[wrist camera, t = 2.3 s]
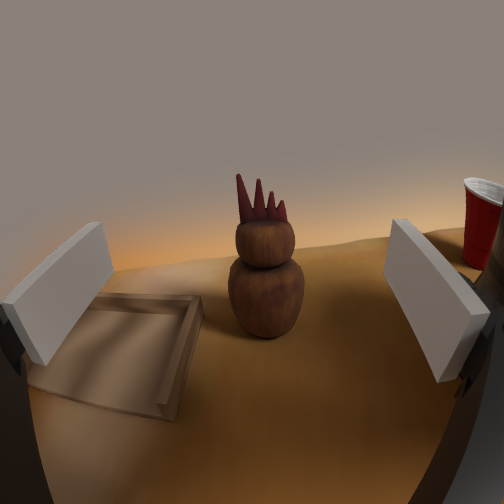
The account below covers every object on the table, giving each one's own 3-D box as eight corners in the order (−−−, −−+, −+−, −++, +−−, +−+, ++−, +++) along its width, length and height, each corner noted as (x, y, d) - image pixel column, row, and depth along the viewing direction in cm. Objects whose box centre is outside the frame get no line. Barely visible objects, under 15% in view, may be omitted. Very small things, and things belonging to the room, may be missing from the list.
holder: (203, 314, 31) (200, 295, 30) (174, 421, 20) (166, 404, 18) (72, 306, 33) (65, 290, 31) (19, 382, 21) (7, 365, 20)
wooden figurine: (223, 335, 28) (204, 180, 21) (248, 302, 33) (239, 164, 26) (290, 353, 26) (295, 186, 19) (308, 315, 30) (314, 168, 23)
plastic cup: (468, 282, 32) (490, 198, 27) (438, 246, 42) (451, 174, 36) (517, 279, 31) (539, 205, 26) (485, 246, 41) (499, 181, 35)
